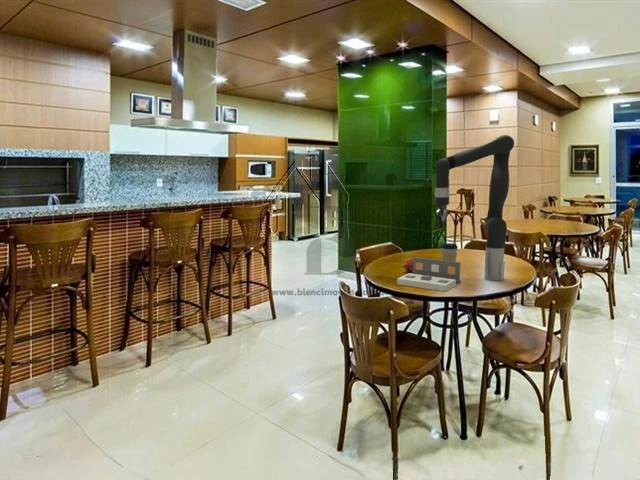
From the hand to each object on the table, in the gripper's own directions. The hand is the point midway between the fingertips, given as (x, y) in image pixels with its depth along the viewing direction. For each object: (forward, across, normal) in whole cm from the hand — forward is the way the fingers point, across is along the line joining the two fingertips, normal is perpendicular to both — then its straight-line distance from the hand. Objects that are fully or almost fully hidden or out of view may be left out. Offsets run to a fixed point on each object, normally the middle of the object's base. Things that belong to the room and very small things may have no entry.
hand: (441, 228), depth 243 cm
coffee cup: (+27, +19, +2) cm, 33 cm away
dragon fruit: (+27, 0, +16) cm, 32 cm away
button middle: (+26, -21, -1) cm, 33 cm away
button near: (+27, -21, -10) cm, 35 cm away
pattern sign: (+27, -9, -1) cm, 28 cm away
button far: (+27, -21, +8) cm, 35 cm away
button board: (+27, -21, -1) cm, 34 cm away
